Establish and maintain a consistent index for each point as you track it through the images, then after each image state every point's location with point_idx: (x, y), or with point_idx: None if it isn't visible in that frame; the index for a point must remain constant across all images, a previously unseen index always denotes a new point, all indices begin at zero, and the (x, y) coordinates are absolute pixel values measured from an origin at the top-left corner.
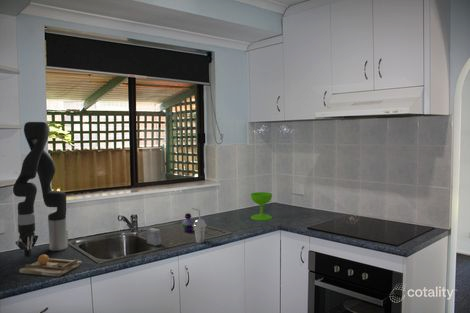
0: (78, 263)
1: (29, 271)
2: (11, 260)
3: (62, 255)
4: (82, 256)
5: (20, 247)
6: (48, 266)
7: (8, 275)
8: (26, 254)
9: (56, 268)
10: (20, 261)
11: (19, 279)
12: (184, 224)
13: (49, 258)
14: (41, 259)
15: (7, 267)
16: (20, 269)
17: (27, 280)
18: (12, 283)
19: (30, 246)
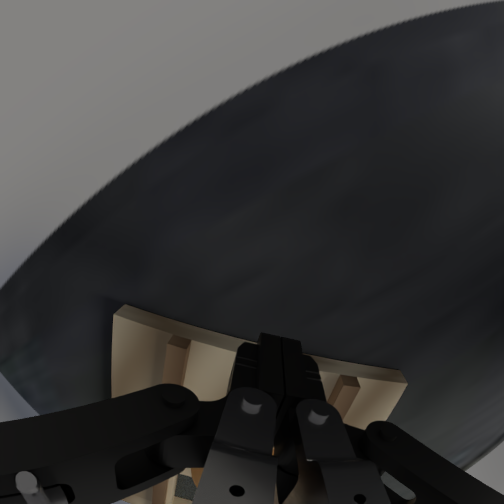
0: None
1: (114, 387)
2: (435, 65)
3: (471, 410)
4: (409, 494)
5: (119, 419)
6: (164, 481)
7: (73, 246)
8: (229, 383)
9: (152, 501)
10: (417, 156)
11: (43, 350)
12: None
13: (384, 419)
14: (192, 477)
15: (252, 113)
16: (116, 322)
17: (48, 392)
18: (6, 334)
19: (284, 486)
